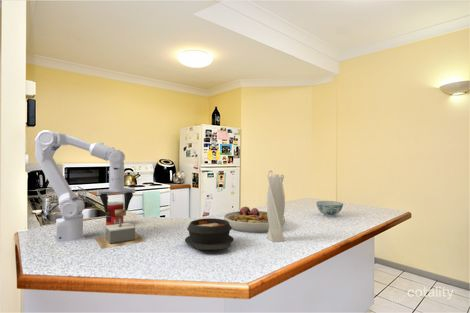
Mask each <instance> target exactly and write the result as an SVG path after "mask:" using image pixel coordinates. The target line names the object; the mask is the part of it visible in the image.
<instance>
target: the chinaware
mask: <svg viewBox="0 0 470 313" xmlns="http://www.w3.org/2000/svg"><path fill="white" fill-rule="evenodd" d="M315 203H316V207H317V209H318V211H319V212H320V213H321V214H323V216H324V217H328V218H334V217H335V218H336V215H338V214H340V212H341V211H342V209H343V206H344V202H340V201H333V200H318V201H316V202H315Z"/></svg>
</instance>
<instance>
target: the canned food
mask: <svg viewBox="0 0 470 313" xmlns="http://www.w3.org/2000/svg"><path fill="white" fill-rule="evenodd" d="M124 205H125V201H124V202H123V201H110V202H109V201H108V213H105V226H106V225H114V224H119V216H115V210H119V209H124ZM122 223H124V216H122Z"/></svg>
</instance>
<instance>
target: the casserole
mask: <svg viewBox="0 0 470 313" xmlns="http://www.w3.org/2000/svg"><path fill="white" fill-rule="evenodd" d="M186 230H187V231H188V234H189V235H188V236H186V237H185V238H184V242H185V243H186V244H187V245H189V246H192V247H194V248H195V249H197V250H199V251H218V250H219V251H220V250H225V249H228V248H230V247H231V244H232V243H233V242H234V237H233V236H232V235H230V233H231V232H230V231H231V230H233V229H232V227H231V226H230V224H229V222H228V221H226V220H224V218H223V219H221V218H210V217H209V218H208V217H207V218H199V219H198V218H197V219H194V220H191V221H190V222H189V225H188V226H187V227H186Z"/></svg>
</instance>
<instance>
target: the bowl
mask: <svg viewBox="0 0 470 313" xmlns="http://www.w3.org/2000/svg"><path fill="white" fill-rule="evenodd" d="M223 220H226V221H228V222H229V224H230V226H231V227H232V229H231V230H234V231H238V232H244V233H255V234H257V233H259V234H260V233H268V231H269V222H268V216H267V211H263V210H262V211H260V210H258V208H255V207H254V208H252V209H250V208H249V207H248V206H243V207H241V208H240V210H239V211H232V212H229V213H226V214H224V215H223ZM285 222H286V217H285V216H284V217H283V222H282V226H281V228H283V227H284V225H285Z"/></svg>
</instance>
